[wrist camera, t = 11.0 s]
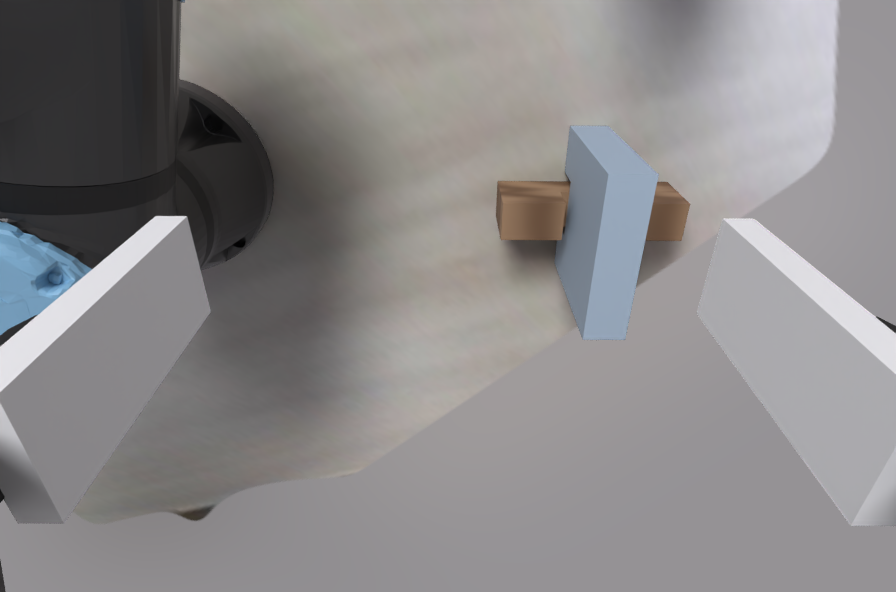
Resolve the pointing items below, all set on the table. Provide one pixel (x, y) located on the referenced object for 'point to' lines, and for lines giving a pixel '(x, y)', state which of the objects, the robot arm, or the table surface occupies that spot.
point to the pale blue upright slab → (603, 230)
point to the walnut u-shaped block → (545, 207)
